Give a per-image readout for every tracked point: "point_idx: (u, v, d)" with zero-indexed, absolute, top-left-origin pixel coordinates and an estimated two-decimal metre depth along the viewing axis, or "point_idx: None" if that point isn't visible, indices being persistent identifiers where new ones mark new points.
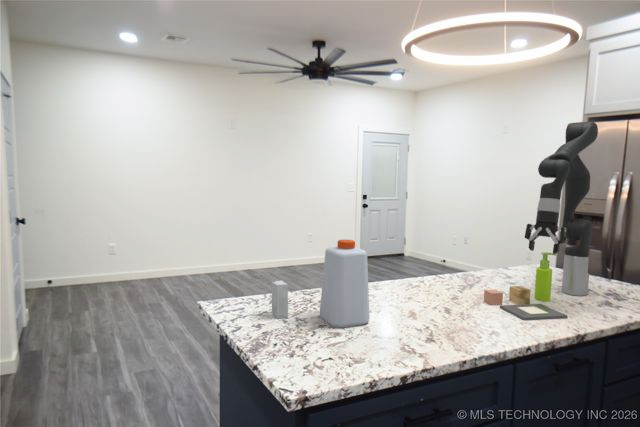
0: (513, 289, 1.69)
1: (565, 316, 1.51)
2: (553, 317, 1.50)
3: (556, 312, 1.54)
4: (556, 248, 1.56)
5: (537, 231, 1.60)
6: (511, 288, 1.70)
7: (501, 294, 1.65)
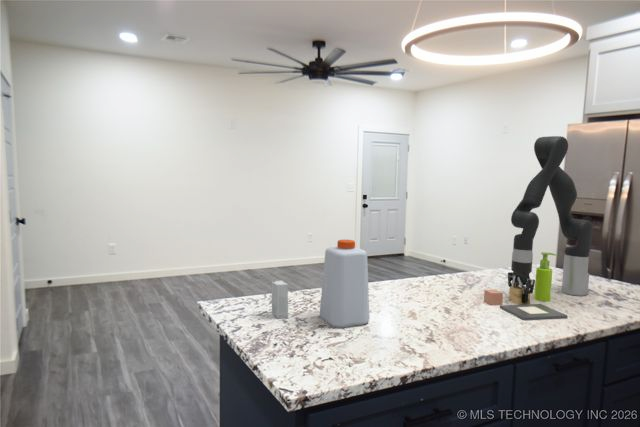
0: (513, 289, 1.69)
1: (565, 316, 1.51)
2: (553, 317, 1.50)
3: (556, 312, 1.54)
4: (524, 298, 1.65)
5: (513, 279, 1.70)
6: (511, 288, 1.70)
7: (501, 294, 1.65)
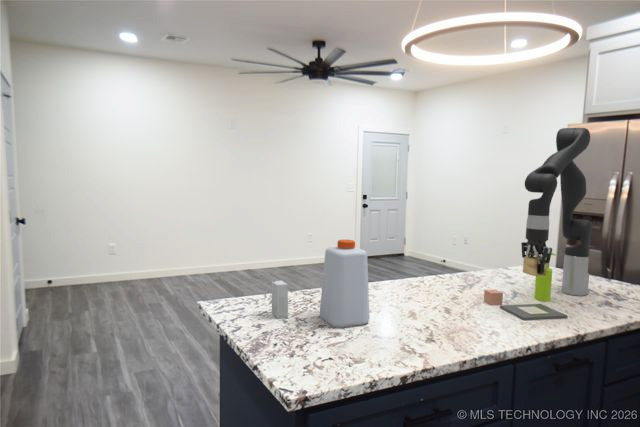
0: (527, 259, 1.54)
1: (565, 316, 1.51)
2: (553, 317, 1.50)
3: (556, 312, 1.54)
4: (539, 268, 1.51)
5: (528, 249, 1.56)
6: (525, 258, 1.56)
7: (501, 294, 1.65)
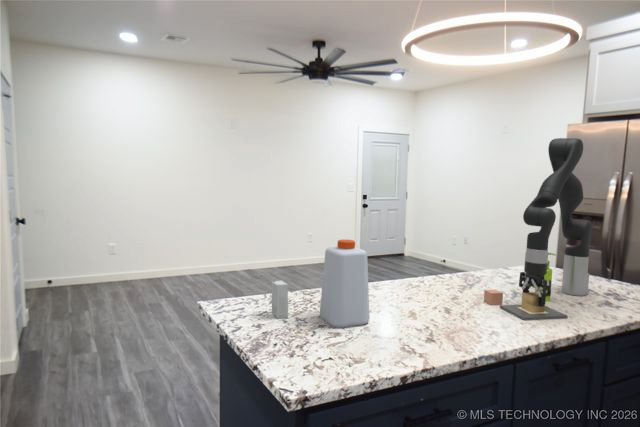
0: (526, 296, 1.55)
1: (565, 316, 1.51)
2: (553, 317, 1.50)
3: (556, 312, 1.54)
4: (541, 301, 1.51)
5: (526, 281, 1.57)
6: (524, 295, 1.57)
7: (501, 294, 1.65)
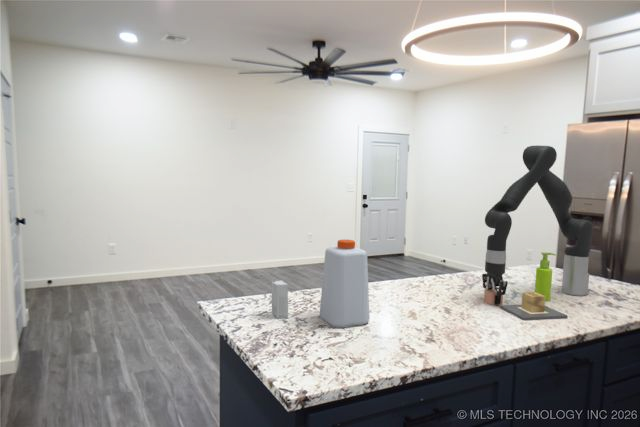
0: (526, 296, 1.55)
1: (565, 316, 1.51)
2: (553, 317, 1.50)
3: (556, 312, 1.54)
4: (496, 299, 1.64)
5: (487, 281, 1.68)
6: (524, 295, 1.57)
7: None
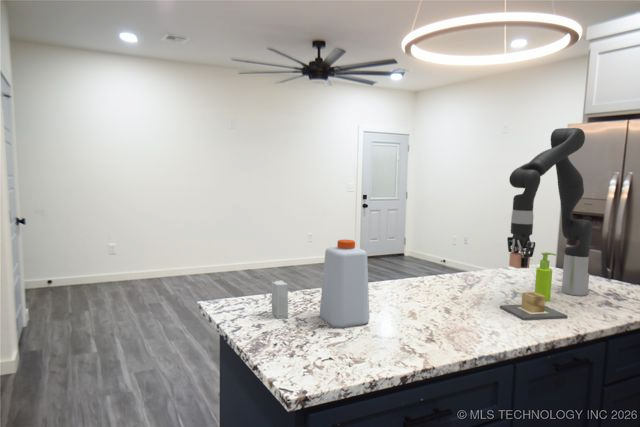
0: (526, 296, 1.55)
1: (565, 316, 1.51)
2: (553, 317, 1.50)
3: (556, 312, 1.54)
4: (523, 262, 1.55)
5: (513, 243, 1.60)
6: (524, 295, 1.57)
7: None
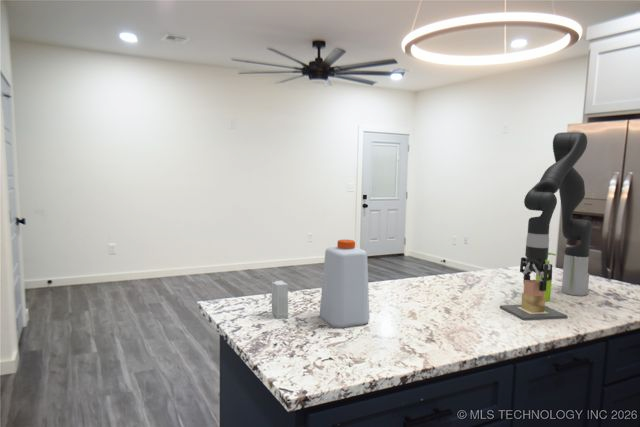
0: (526, 296, 1.55)
1: (565, 316, 1.51)
2: (553, 317, 1.50)
3: (556, 312, 1.54)
4: (542, 285, 1.50)
5: (527, 266, 1.56)
6: (524, 295, 1.57)
7: None
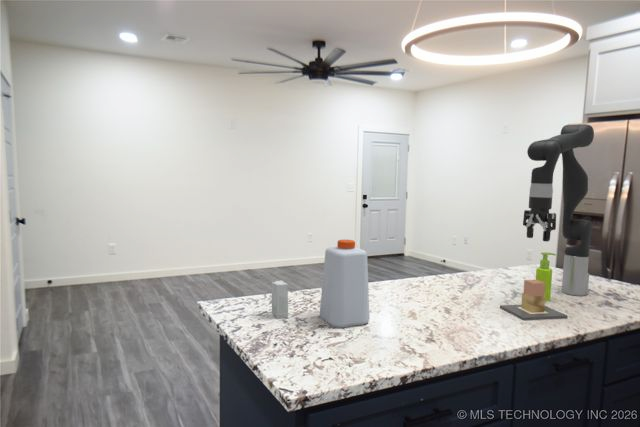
0: (526, 296, 1.55)
1: (565, 316, 1.51)
2: (553, 317, 1.50)
3: (556, 312, 1.54)
4: (545, 235, 1.48)
5: (530, 218, 1.55)
6: (524, 295, 1.57)
7: (543, 284, 1.53)
